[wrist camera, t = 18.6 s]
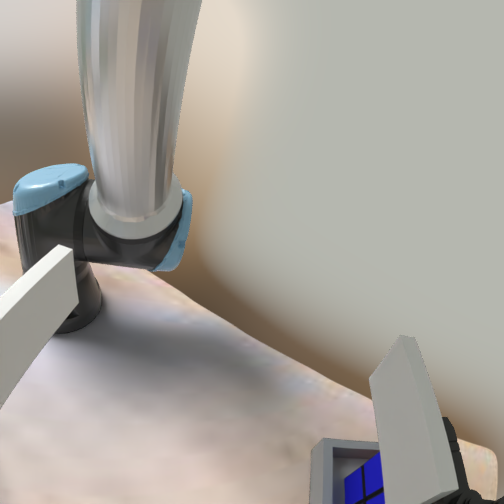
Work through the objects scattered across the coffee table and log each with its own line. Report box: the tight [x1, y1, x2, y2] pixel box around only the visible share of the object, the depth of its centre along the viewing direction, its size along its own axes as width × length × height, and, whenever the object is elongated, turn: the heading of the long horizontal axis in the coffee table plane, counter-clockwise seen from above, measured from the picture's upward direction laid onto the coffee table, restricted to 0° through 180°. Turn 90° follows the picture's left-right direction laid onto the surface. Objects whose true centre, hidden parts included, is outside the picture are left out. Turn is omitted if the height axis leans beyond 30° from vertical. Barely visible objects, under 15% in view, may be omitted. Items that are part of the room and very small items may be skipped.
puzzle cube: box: [344, 451, 385, 504], centre depth 23 cm, size 10×10×10 cm
